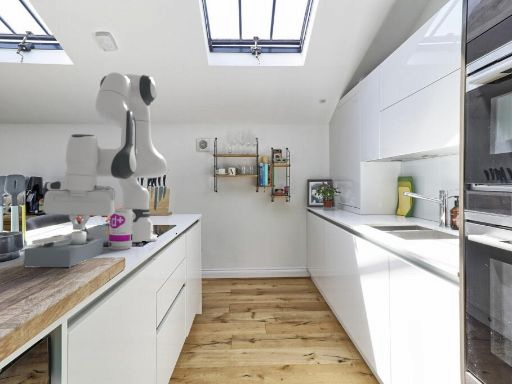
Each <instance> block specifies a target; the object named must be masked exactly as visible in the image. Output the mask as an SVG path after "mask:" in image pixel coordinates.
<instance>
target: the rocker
mask: <svg viewBox="0 0 512 384" xmlns="http://www.w3.org/2000/svg"><path fill="white" fill-rule="evenodd" d="M65 238H66V235H65V234H63V235H62V234H58V235H53V236H51V237H45V238H39V239H35V240H32V241H31V243H32V245H37V244H38V245H39V244H42V243H43V244H44V243H50V242H54V241H57V240H61V239H65Z"/></svg>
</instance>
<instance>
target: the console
mask: <svg viewBox="0 0 512 384" xmlns="http://www.w3.org/2000/svg"><path fill="white" fill-rule="evenodd" d="M71 238H72V237H65V238H64V239H60V240H55V241H49V242H45V243H43V244H42V243H41V244H38V245H33V246H30V247H28V248H24V254H23V256H24V259H23V267H24V266H40V267H70V266H72V265H74V264H77V263H79V262H81V261H84V260H86V259H89V260H91V259H94V258H95V257H98V256H100V255H103V252H104V238H95V237H92V236H89V237H88V236H86V244H81V245H73V244H71ZM90 258H91V259H90ZM84 262H85V261H84Z"/></svg>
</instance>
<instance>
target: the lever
mask: <svg viewBox="0 0 512 384" xmlns="http://www.w3.org/2000/svg"><path fill="white" fill-rule="evenodd" d="M76 220H77V222H78V224H81V222H82V221H83V219H82V216H81V215H78V216H77V218H76ZM81 231H85V232H86V236H87V235H89V234H90V233H89V231H88V229H87V227H86V226H85V230H81Z"/></svg>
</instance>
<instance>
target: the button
mask: <svg viewBox="0 0 512 384" xmlns="http://www.w3.org/2000/svg"><path fill="white" fill-rule="evenodd" d="M86 237H87V235H86V232H85V231H82V230H73V232H71V237H70V238H71V244H73V245H81V244H86Z"/></svg>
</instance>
